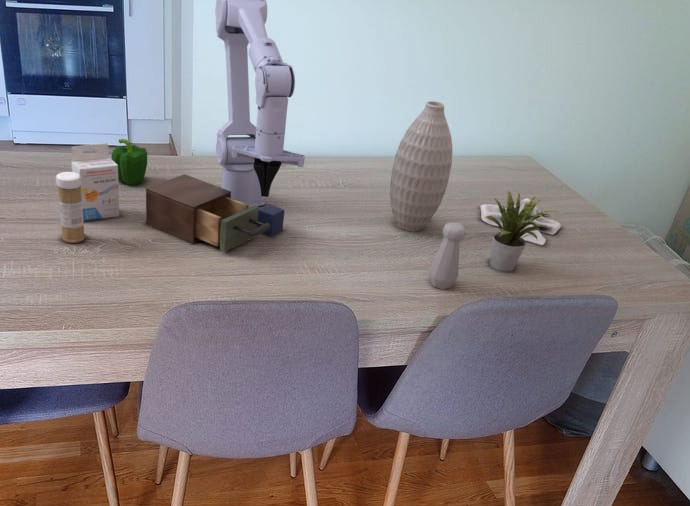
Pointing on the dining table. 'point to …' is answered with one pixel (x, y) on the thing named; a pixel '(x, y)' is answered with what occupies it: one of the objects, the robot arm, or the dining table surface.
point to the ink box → (97, 181)
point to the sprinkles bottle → (70, 206)
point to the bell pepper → (130, 162)
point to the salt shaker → (447, 257)
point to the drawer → (227, 223)
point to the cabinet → (179, 204)
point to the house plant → (512, 233)
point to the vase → (421, 169)
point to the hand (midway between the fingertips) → (265, 195)
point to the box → (271, 219)
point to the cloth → (549, 229)
